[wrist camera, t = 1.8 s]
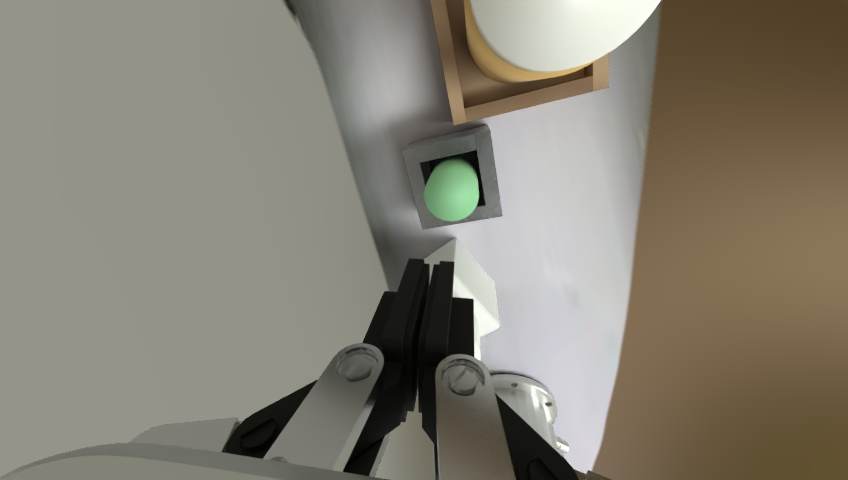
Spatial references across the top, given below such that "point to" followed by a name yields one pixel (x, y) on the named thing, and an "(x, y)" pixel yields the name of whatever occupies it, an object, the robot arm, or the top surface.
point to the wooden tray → (488, 97)
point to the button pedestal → (450, 145)
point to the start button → (452, 189)
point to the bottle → (547, 34)
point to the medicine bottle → (470, 287)
